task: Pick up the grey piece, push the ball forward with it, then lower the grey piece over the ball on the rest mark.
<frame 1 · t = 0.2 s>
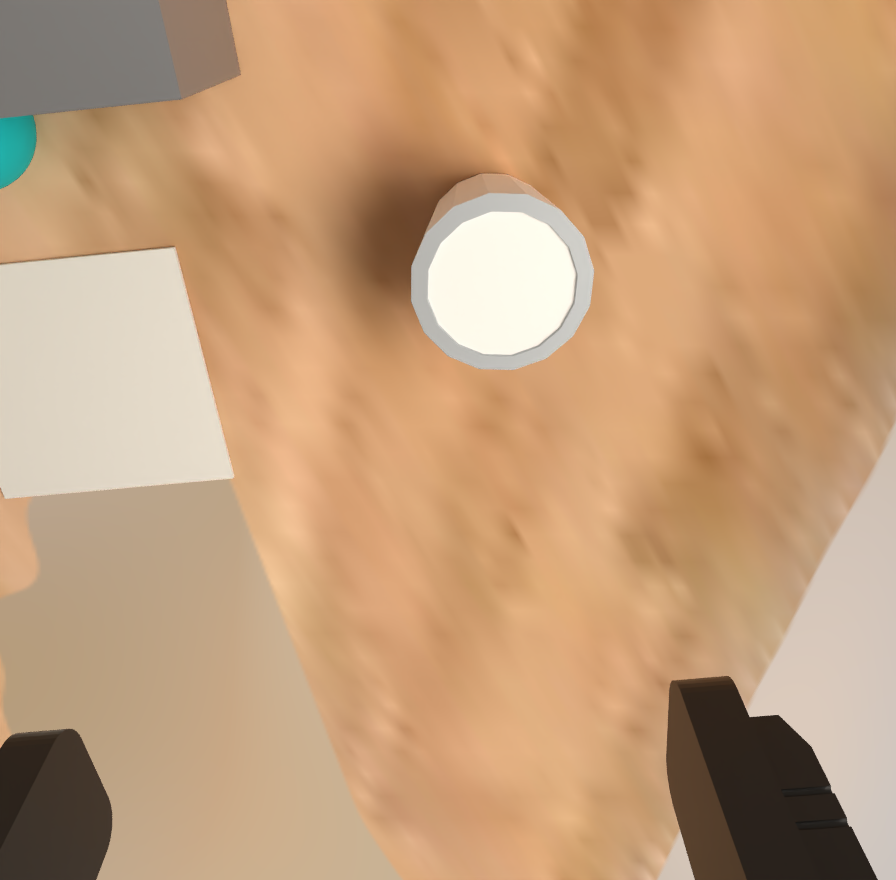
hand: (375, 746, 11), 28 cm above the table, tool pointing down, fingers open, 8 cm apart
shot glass: (490, 236, 36), on the table
rest mark: (84, 381, 39), on the table
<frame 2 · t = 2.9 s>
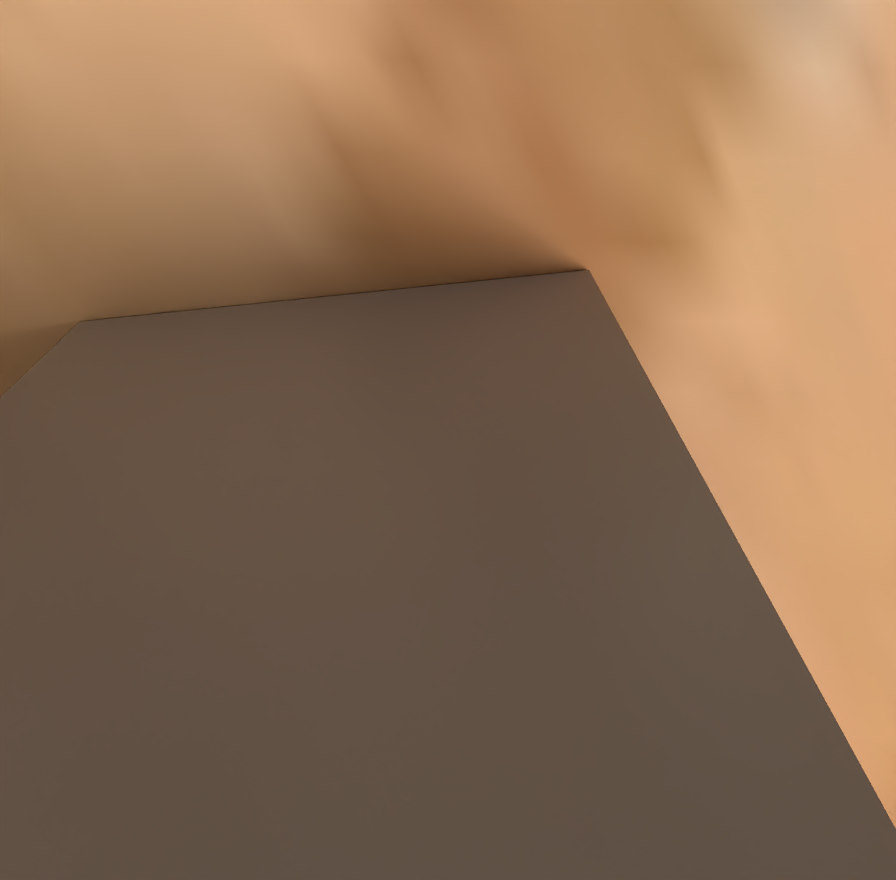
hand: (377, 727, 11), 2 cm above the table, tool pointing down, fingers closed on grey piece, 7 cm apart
grey piece: (386, 609, 13), on the table, touching gripper
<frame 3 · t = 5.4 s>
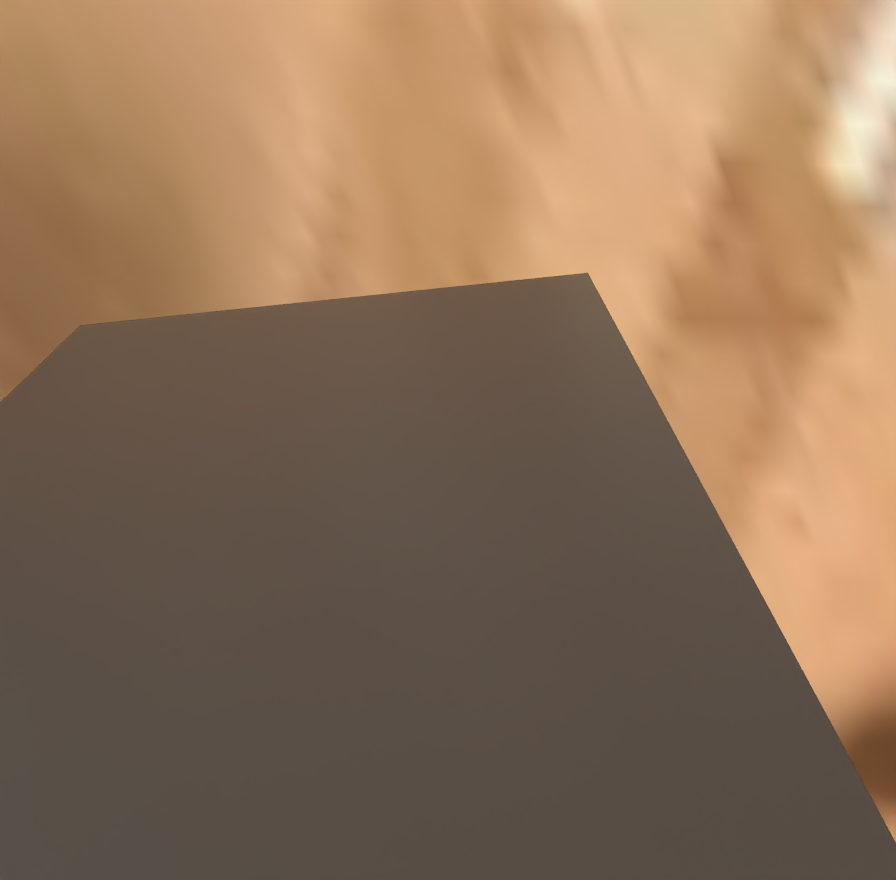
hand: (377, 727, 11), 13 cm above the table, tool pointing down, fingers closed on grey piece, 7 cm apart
grey piece: (387, 610, 13), point 10 cm above the table, touching gripper
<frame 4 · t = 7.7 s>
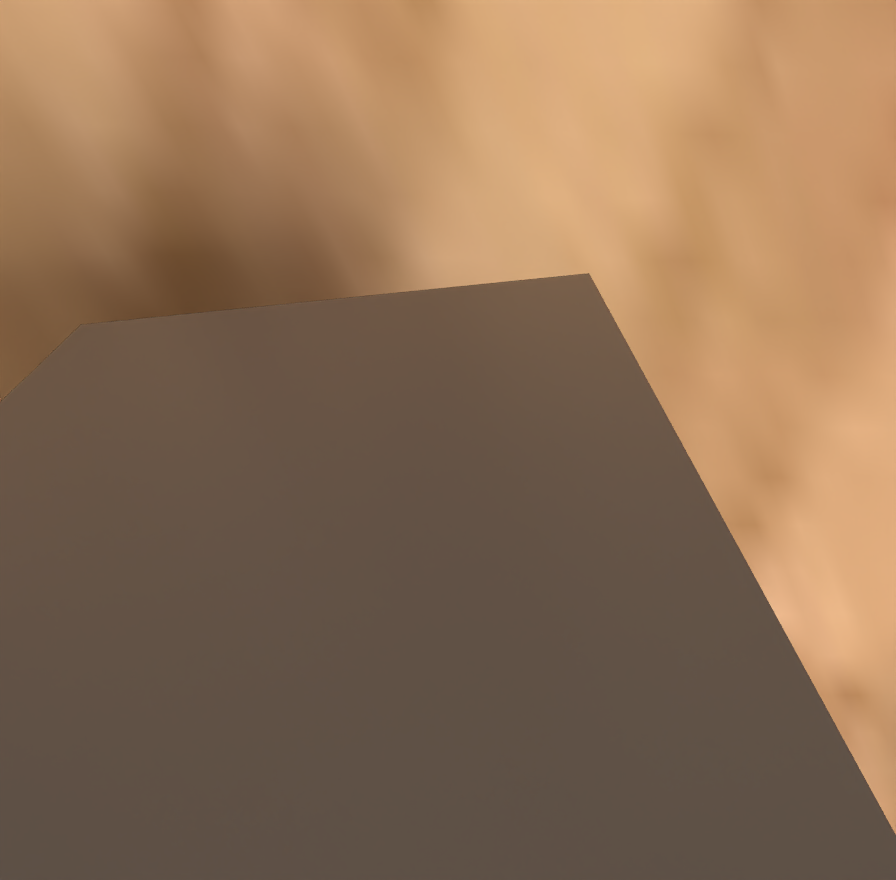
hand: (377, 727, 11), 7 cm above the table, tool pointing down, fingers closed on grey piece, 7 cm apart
grey piece: (387, 611, 13), point 5 cm above the table, touching gripper
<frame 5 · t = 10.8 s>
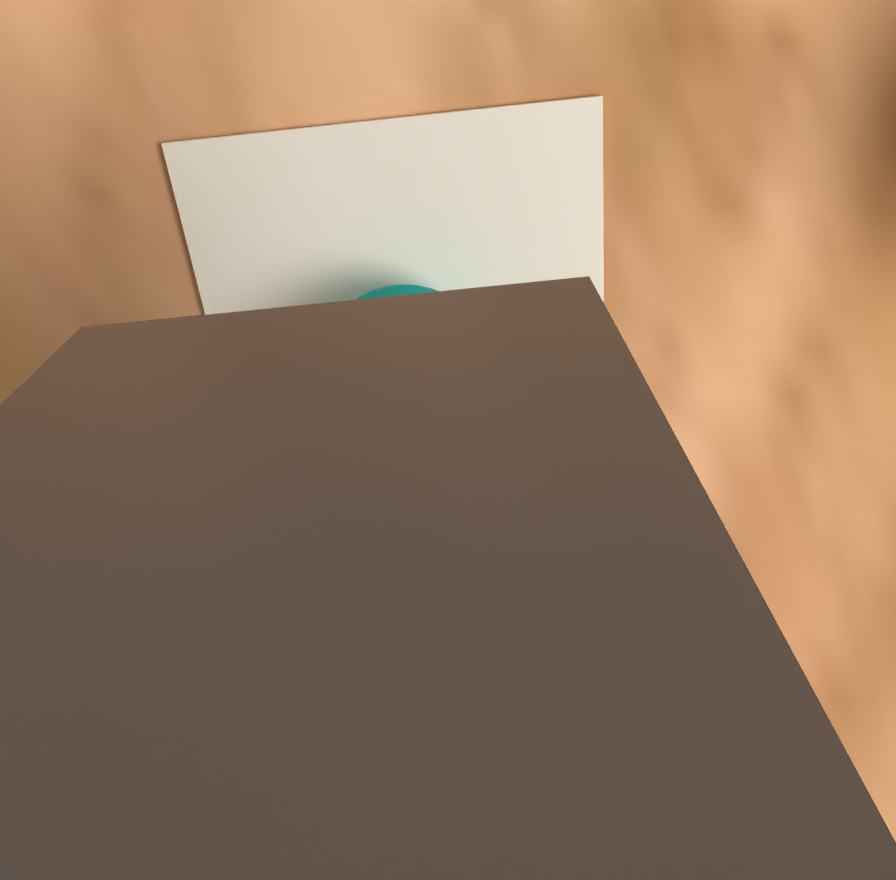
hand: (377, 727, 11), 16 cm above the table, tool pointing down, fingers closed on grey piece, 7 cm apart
grey piece: (387, 613, 13), point 13 cm above the table, touching gripper
rest mark: (407, 325, 25), on the table
ball: (405, 373, 23), on the table
when the fingers open (3 cm above the table, at t = 13.8 s): grey piece stays where it is, on the table.
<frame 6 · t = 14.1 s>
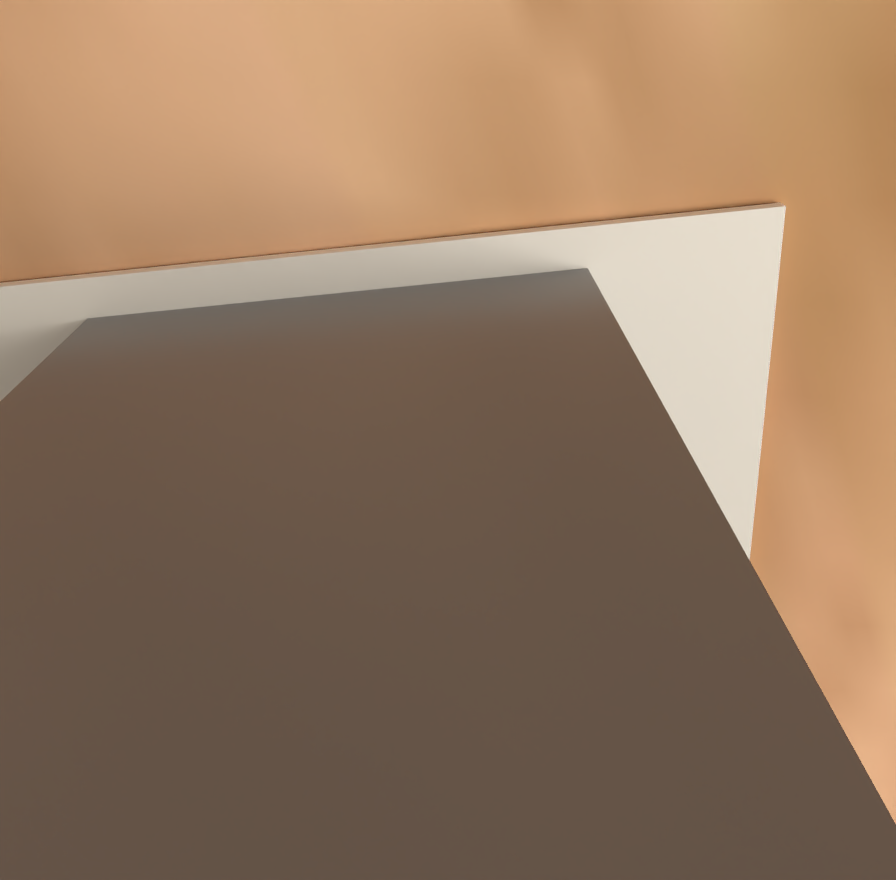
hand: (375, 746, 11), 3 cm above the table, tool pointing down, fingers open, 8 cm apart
grey piece: (389, 595, 14), on the table
rest mark: (387, 597, 14), on the table
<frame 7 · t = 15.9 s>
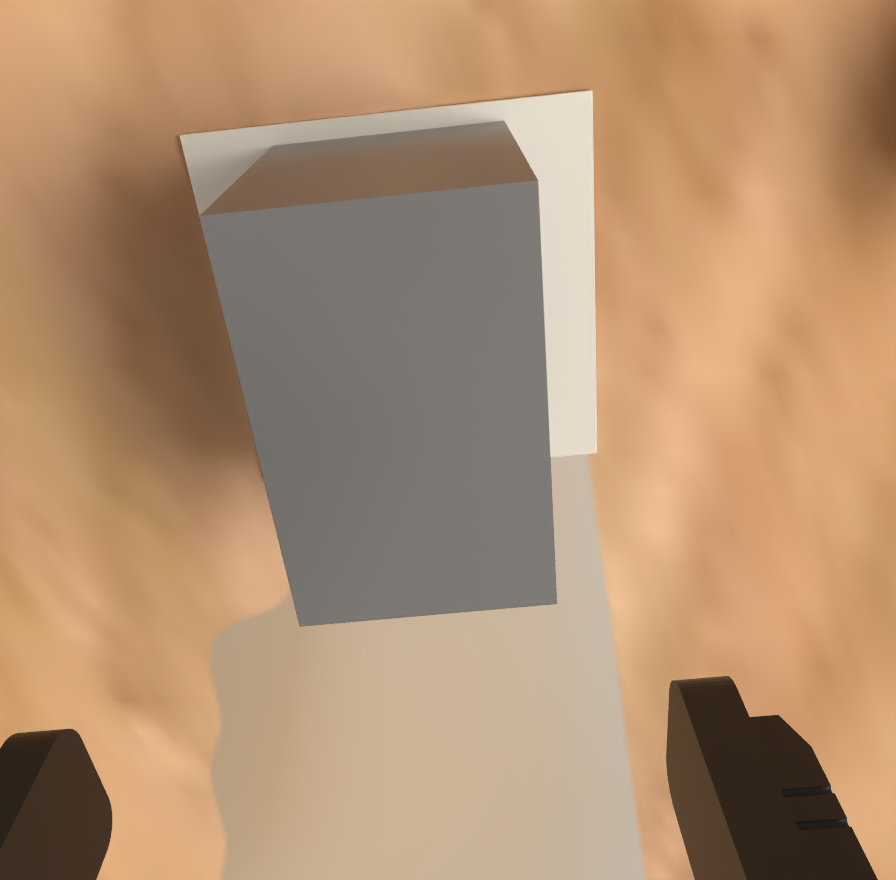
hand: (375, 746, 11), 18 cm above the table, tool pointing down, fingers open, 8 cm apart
grey piece: (410, 306, 26), on the table
rest mark: (409, 308, 26), on the table
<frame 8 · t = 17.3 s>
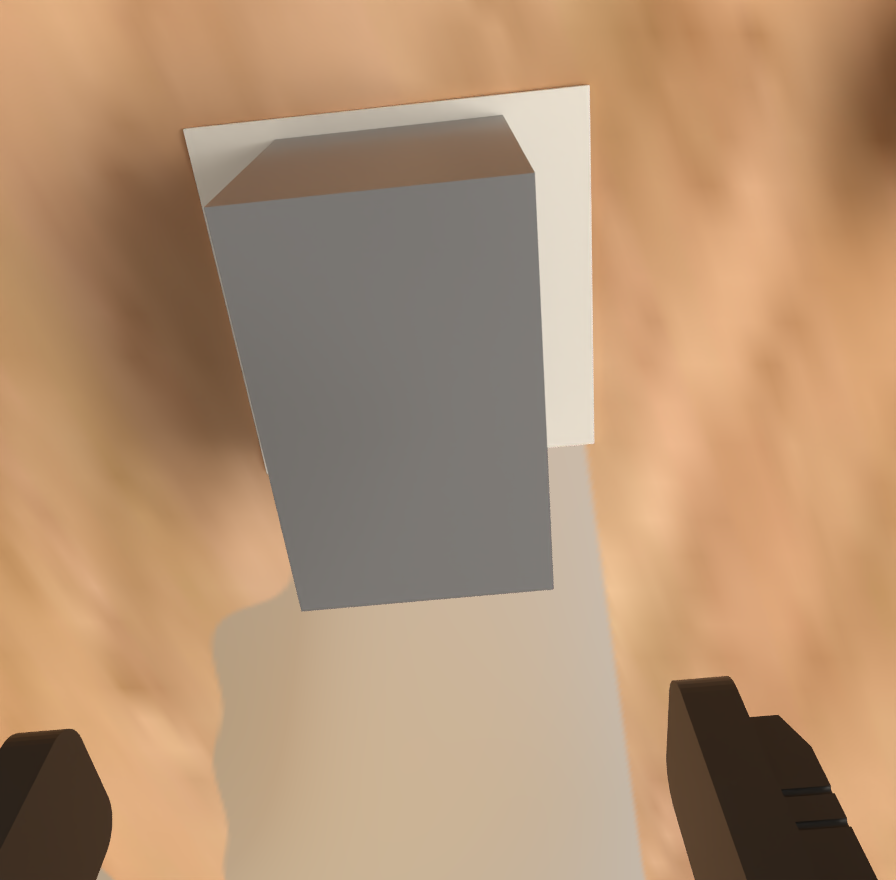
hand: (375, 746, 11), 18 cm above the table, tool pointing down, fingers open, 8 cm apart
grey piece: (410, 298, 27), on the table
rest mark: (409, 300, 27), on the table
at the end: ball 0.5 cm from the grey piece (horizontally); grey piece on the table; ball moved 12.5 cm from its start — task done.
